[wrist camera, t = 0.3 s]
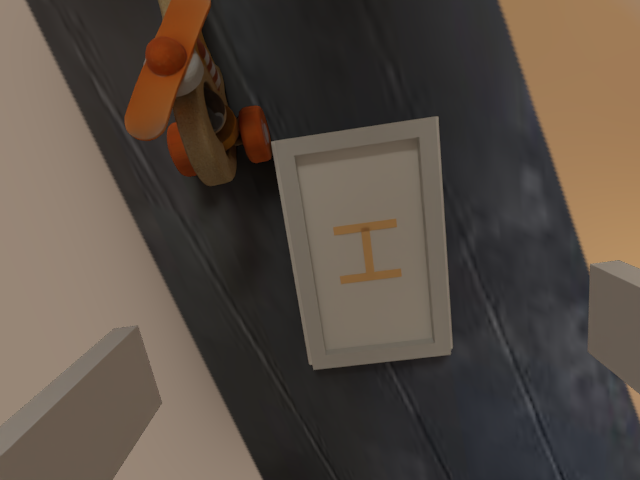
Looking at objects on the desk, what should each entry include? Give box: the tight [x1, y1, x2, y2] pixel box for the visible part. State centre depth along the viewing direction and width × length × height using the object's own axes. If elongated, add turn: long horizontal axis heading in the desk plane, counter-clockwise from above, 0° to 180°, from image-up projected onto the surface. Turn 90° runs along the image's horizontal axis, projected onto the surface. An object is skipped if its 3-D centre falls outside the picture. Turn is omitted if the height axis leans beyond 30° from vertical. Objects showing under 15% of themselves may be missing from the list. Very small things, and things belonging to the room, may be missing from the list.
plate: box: [271, 116, 453, 370], centre depth 36 cm, size 23×15×3 cm, turn 8°
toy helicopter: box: [125, 0, 272, 186], centre depth 27 cm, size 8×21×14 cm, turn 11°
